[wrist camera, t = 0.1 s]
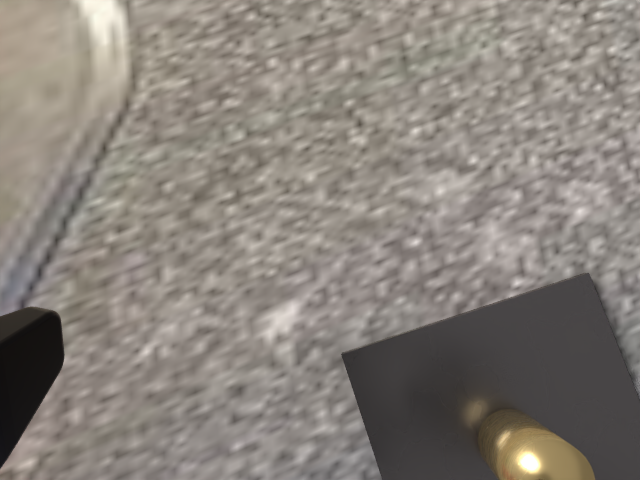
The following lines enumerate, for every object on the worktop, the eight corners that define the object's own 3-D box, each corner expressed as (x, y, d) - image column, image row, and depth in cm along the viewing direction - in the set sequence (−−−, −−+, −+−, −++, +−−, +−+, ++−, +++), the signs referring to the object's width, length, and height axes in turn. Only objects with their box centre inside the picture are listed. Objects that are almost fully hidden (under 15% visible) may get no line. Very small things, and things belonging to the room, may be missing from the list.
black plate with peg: (684, 530, 21) (797, 610, 15) (426, 609, 21) (445, 714, 16) (583, 273, 22) (653, 262, 17) (342, 352, 23) (333, 367, 17)
